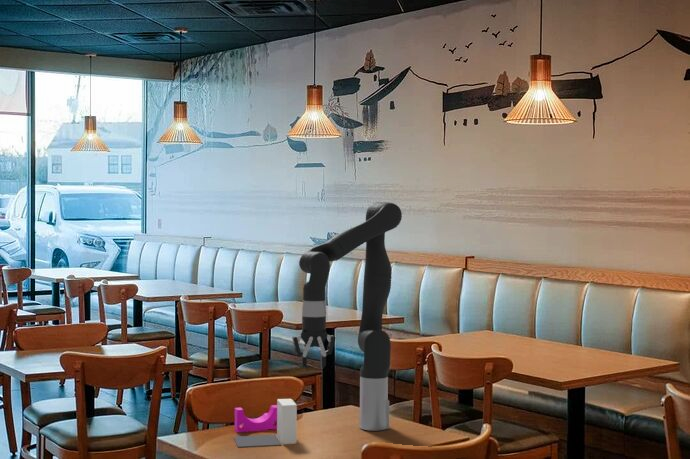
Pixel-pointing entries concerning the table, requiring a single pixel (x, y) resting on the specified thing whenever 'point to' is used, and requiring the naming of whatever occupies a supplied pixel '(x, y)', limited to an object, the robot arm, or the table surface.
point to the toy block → (255, 420)
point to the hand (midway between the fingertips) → (313, 368)
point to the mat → (257, 440)
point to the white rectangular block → (286, 421)
